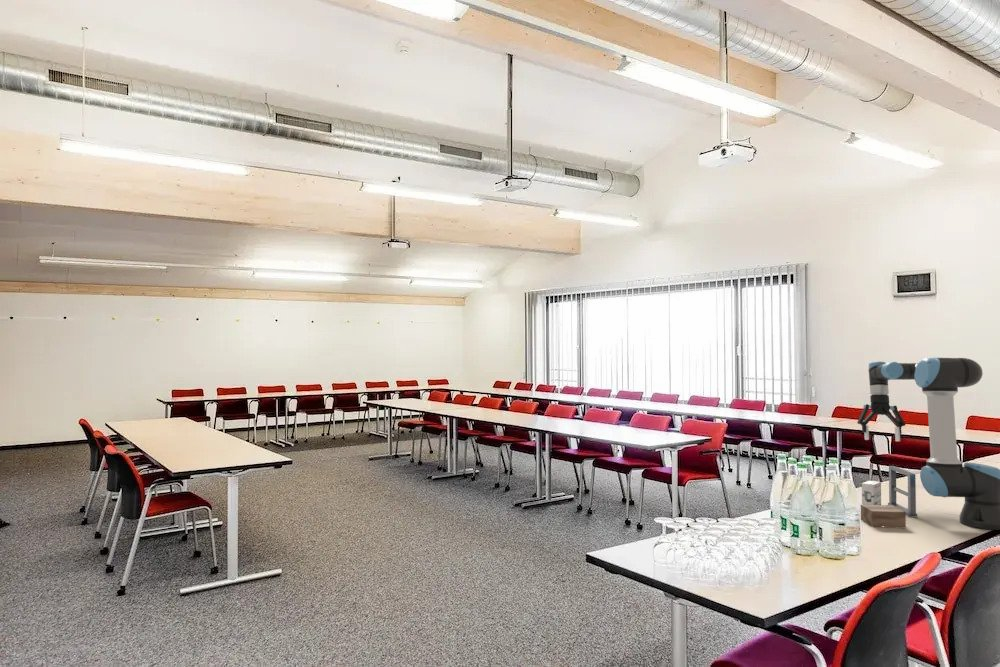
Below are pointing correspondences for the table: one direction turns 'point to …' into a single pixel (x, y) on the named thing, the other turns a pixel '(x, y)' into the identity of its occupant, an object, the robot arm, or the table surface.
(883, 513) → the walnut plinth
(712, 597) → the table surface
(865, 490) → the ink box
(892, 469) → the rack
